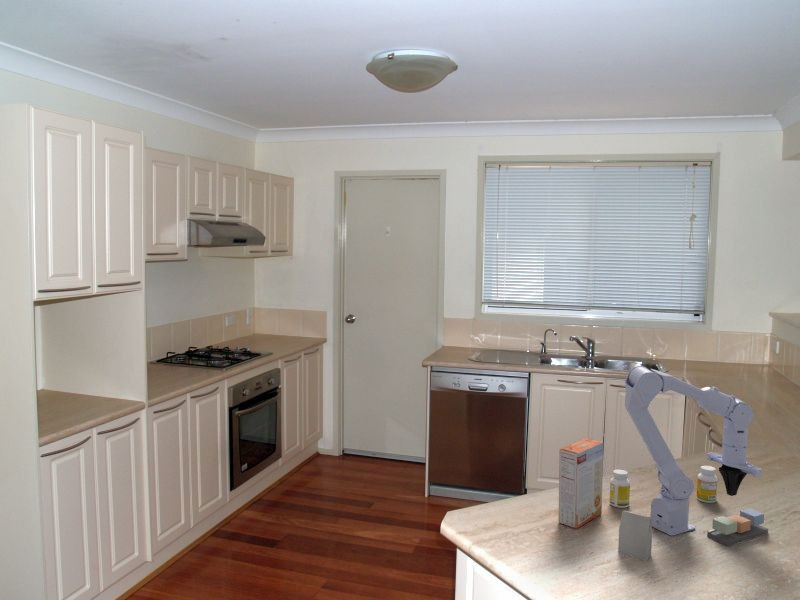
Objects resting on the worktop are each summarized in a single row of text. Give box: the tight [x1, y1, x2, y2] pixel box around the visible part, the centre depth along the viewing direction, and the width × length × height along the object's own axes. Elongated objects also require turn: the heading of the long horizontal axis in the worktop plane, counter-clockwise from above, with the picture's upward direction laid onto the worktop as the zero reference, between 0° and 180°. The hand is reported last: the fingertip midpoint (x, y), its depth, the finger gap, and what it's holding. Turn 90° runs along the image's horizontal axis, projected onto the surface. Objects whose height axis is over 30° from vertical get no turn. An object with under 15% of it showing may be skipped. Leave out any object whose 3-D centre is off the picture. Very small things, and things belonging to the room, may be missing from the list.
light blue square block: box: [739, 507, 765, 526], centre depth 170 cm, size 4×4×3 cm
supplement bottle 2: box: [696, 465, 719, 504], centre depth 190 cm, size 5×5×10 cm
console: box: [706, 524, 769, 547], centre depth 167 cm, size 16×6×2 cm, turn 118°
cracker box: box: [558, 437, 604, 530], centre depth 175 cm, size 14×6×21 cm, turn 135°
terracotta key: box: [726, 514, 751, 533], centre depth 167 cm, size 4×4×3 cm
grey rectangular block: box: [617, 509, 653, 562], centre depth 157 cm, size 4×7×10 cm, turn 51°
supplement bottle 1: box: [609, 469, 631, 509], centre depth 186 cm, size 5×5×10 cm
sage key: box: [711, 515, 737, 535], centre depth 164 cm, size 4×4×3 cm
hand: (731, 494), depth 170 cm, fingers closed
